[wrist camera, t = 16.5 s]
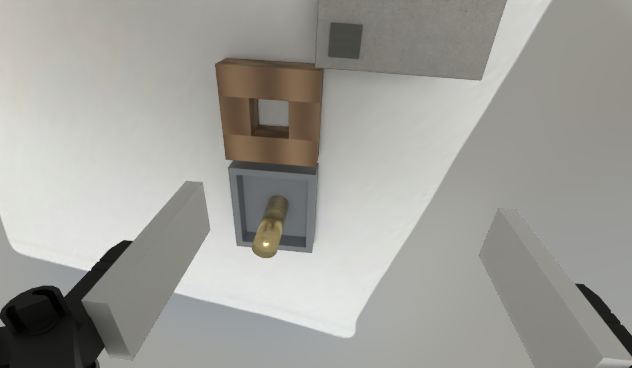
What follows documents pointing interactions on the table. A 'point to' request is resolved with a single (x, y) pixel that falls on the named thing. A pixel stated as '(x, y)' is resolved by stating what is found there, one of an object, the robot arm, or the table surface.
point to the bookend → (408, 36)
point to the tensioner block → (273, 84)
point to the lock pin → (271, 227)
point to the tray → (259, 186)
